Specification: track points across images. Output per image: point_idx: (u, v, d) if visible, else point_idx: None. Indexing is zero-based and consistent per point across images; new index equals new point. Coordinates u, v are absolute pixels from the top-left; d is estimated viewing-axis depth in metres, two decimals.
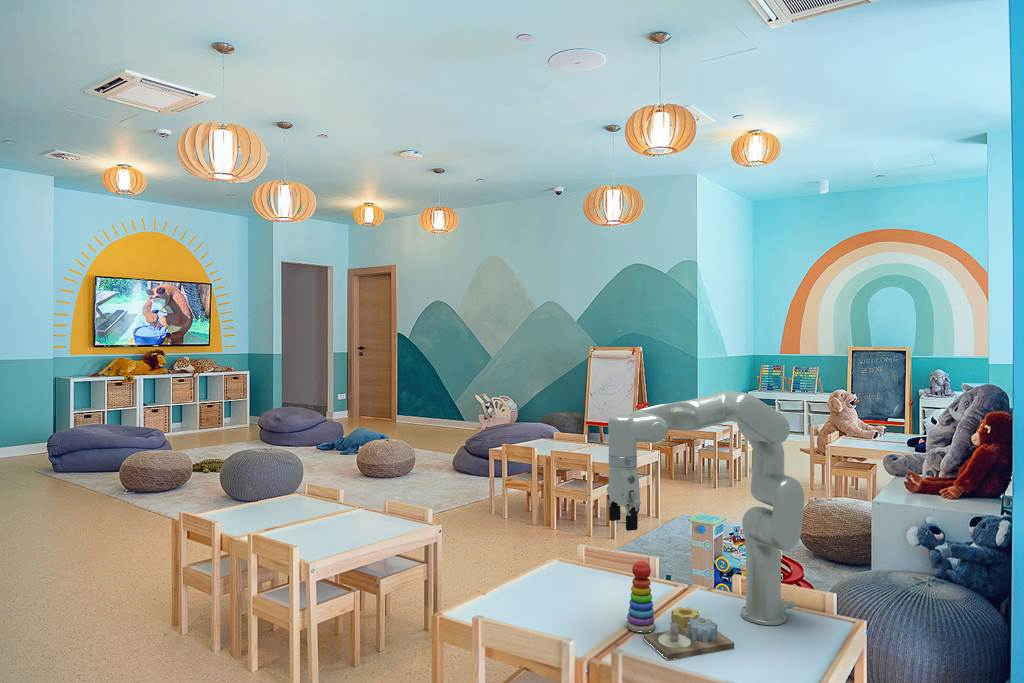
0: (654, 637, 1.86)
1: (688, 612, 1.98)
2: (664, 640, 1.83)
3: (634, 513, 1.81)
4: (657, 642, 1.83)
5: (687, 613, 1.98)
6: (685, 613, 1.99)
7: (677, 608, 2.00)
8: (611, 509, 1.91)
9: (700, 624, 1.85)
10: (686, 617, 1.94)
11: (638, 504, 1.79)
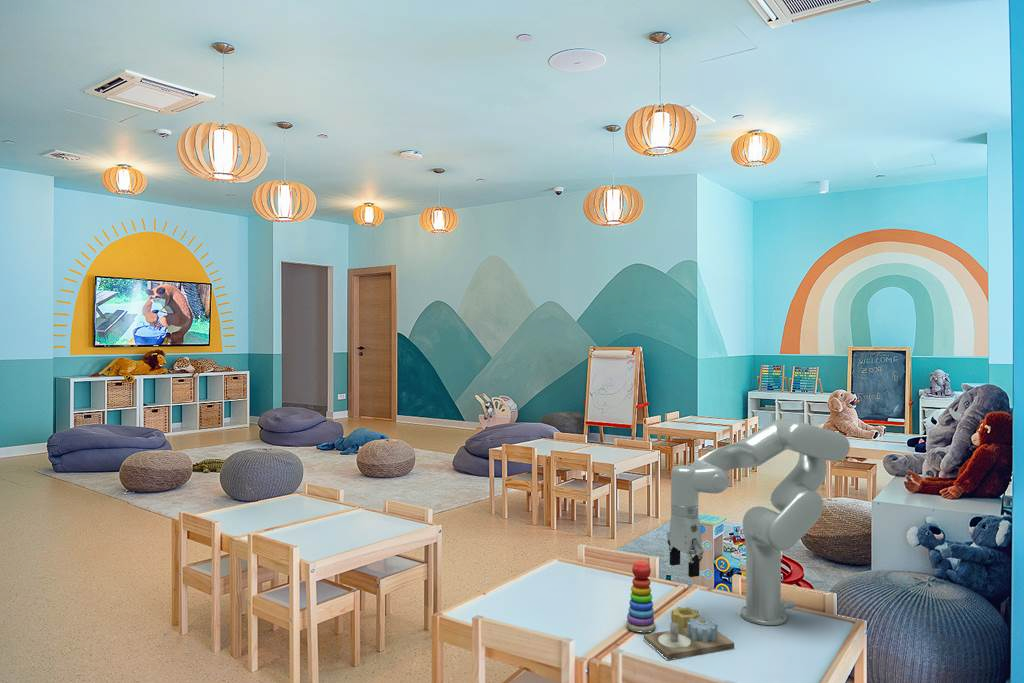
0: (654, 637, 1.86)
1: (688, 612, 1.98)
2: (664, 640, 1.83)
3: (697, 560, 1.90)
4: (657, 642, 1.83)
5: (687, 613, 1.98)
6: (685, 613, 1.99)
7: (677, 608, 2.00)
8: (672, 554, 2.00)
9: (700, 624, 1.85)
10: (686, 617, 1.94)
11: (701, 552, 1.88)
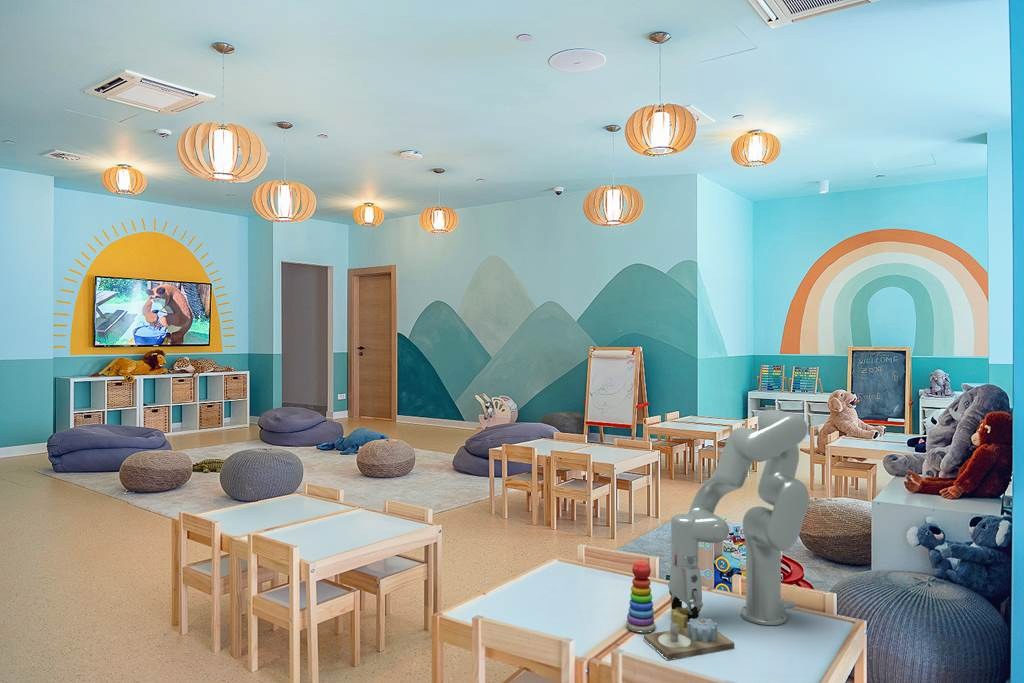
0: (654, 637, 1.86)
1: (688, 612, 1.98)
2: (664, 640, 1.83)
3: (696, 612, 1.91)
4: (657, 642, 1.83)
5: None
6: (685, 613, 1.99)
7: (677, 608, 2.00)
8: (673, 605, 2.00)
9: (700, 624, 1.85)
10: (686, 617, 1.94)
11: (700, 606, 1.89)
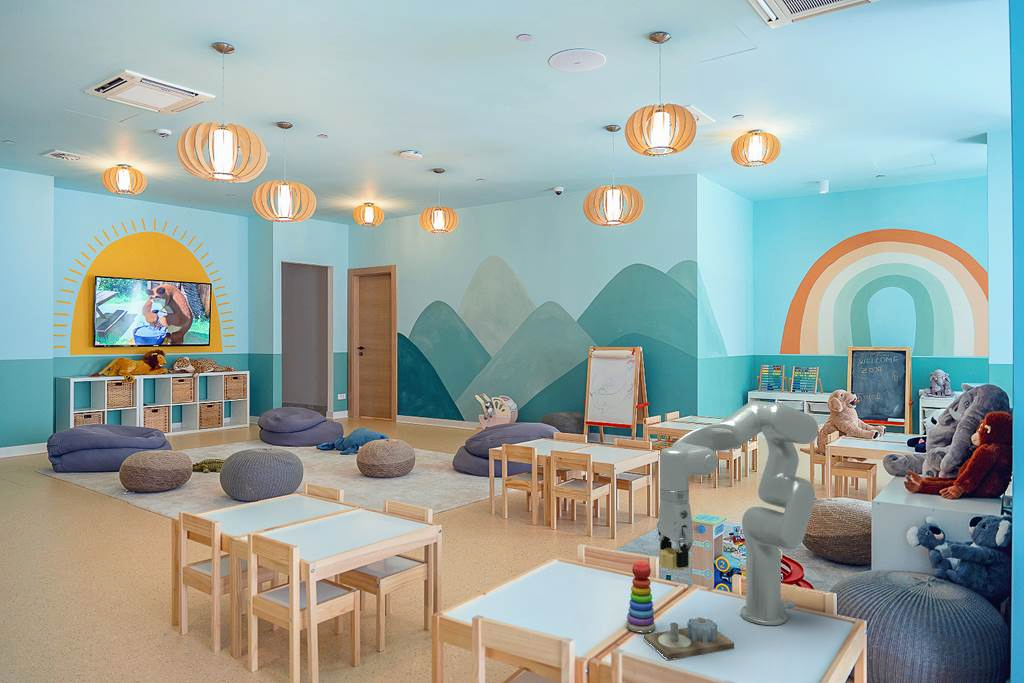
0: (654, 637, 1.86)
1: None
2: (664, 640, 1.83)
3: (685, 550, 1.78)
4: (657, 642, 1.83)
5: None
6: (674, 554, 1.85)
7: (666, 549, 1.86)
8: (662, 545, 1.87)
9: (700, 624, 1.85)
10: (675, 556, 1.81)
11: (690, 542, 1.76)
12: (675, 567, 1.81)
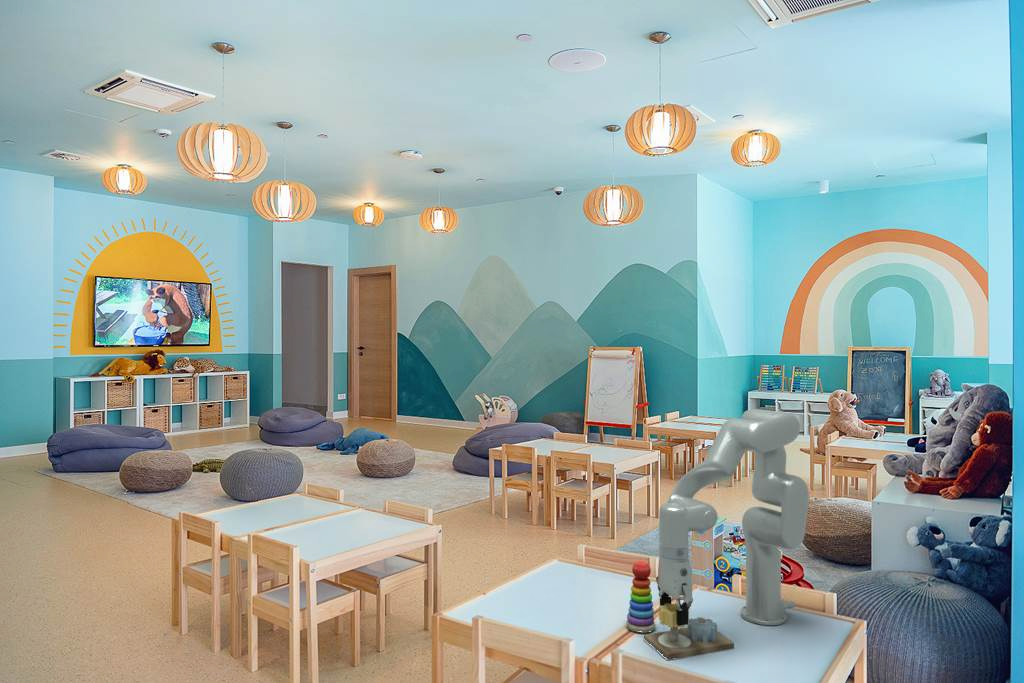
0: (654, 637, 1.86)
1: (677, 609, 1.84)
2: (664, 640, 1.83)
3: (685, 608, 1.77)
4: (657, 642, 1.83)
5: None
6: (674, 610, 1.85)
7: (665, 604, 1.86)
8: (662, 601, 1.86)
9: (700, 624, 1.85)
10: (675, 614, 1.80)
11: (690, 601, 1.75)
12: (675, 625, 1.80)
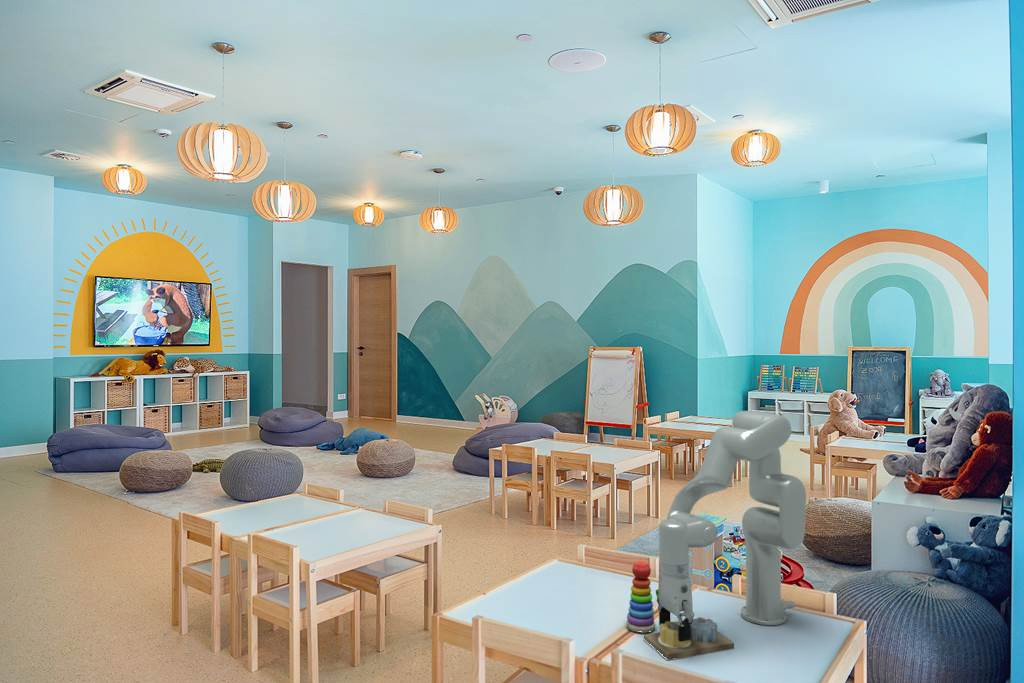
0: (654, 637, 1.86)
1: None
2: None
3: (687, 624, 1.77)
4: (657, 642, 1.83)
5: None
6: None
7: (666, 622, 1.86)
8: (661, 614, 1.87)
9: (700, 624, 1.85)
10: (675, 633, 1.80)
11: (692, 616, 1.75)
12: (676, 643, 1.80)
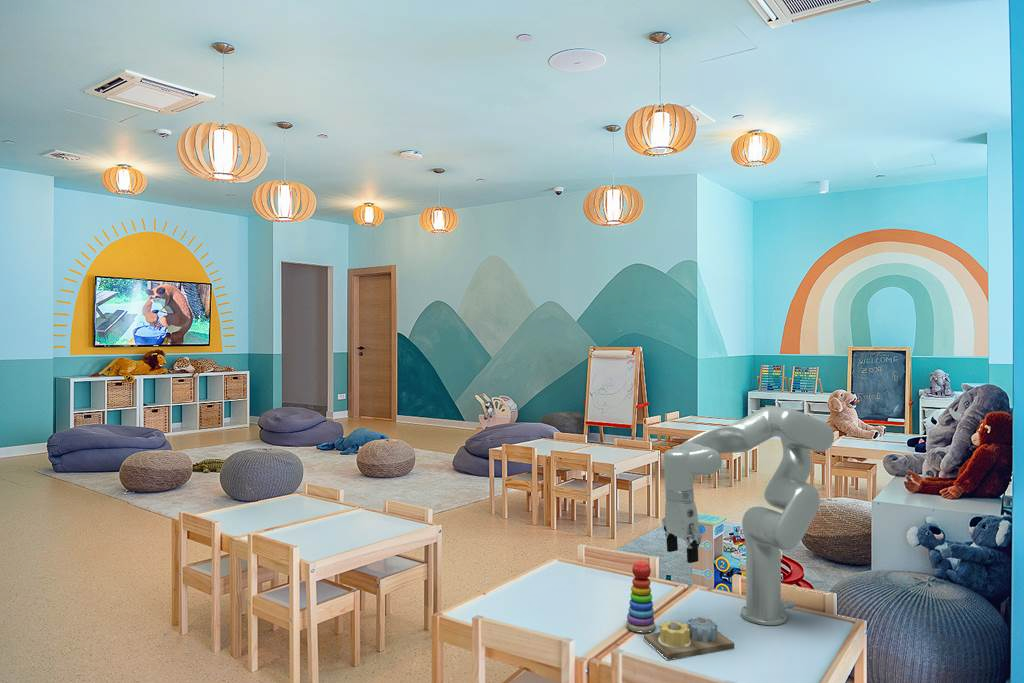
0: (654, 637, 1.86)
1: (678, 627, 1.85)
2: None
3: (695, 546, 1.85)
4: (657, 642, 1.83)
5: None
6: None
7: (666, 622, 1.86)
8: (669, 540, 1.95)
9: (700, 624, 1.85)
10: (675, 633, 1.80)
11: (699, 537, 1.83)
12: (676, 643, 1.80)
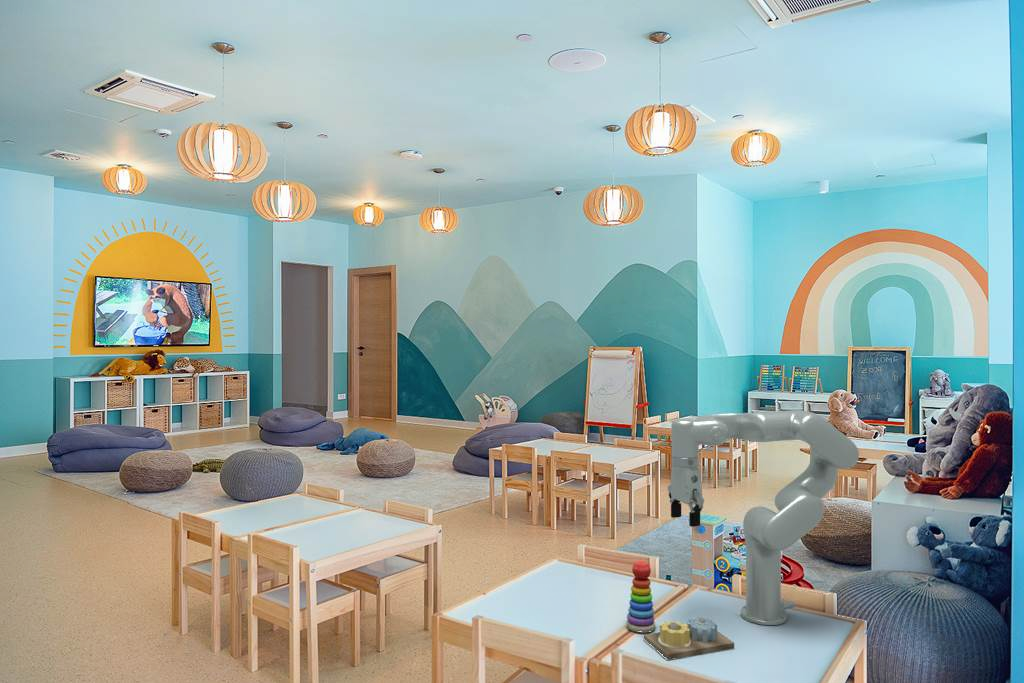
0: (654, 637, 1.86)
1: (678, 627, 1.85)
2: None
3: (698, 510, 1.93)
4: (657, 642, 1.83)
5: None
6: None
7: (666, 622, 1.86)
8: (673, 506, 2.04)
9: (700, 624, 1.85)
10: (675, 633, 1.80)
11: (702, 502, 1.92)
12: (676, 643, 1.80)
